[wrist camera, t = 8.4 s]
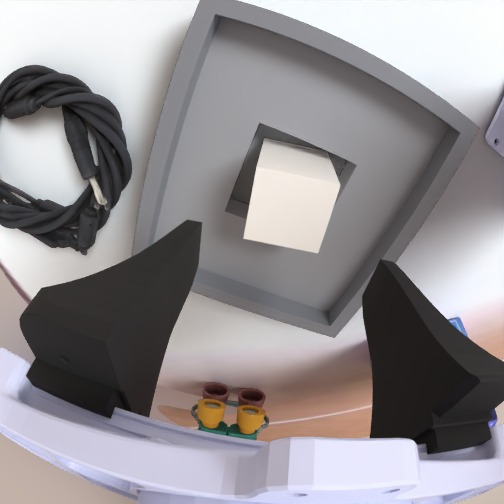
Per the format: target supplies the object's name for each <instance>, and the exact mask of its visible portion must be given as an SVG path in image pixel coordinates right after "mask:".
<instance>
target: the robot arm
mask: <svg viewBox="0 0 504 504" xmlns="http://www.w3.org/2000/svg"><path fill="white" fill-rule="evenodd" d="M495 139H496V140H497V141H496V143H495V144H494V141H495ZM485 140H486V142H487V143H488V144H489V145H490V146H492V147H493V148H494V149H495V150H496V151H497V152H498V153H499V154H500V155H501V156H502V157H504V97H503V99H502V101H501V104H500V106H499V108H498V110H497V112H496V114H495V116H494V118H493V120H492V122H491V124H490V126H489V128H488V130H487V132H486V135H485ZM201 232H202V222H198V221H193V220H186V221H184V222H183V223H181V224H180V225H179V226H177V227H176V228H175V229H173V230H172V231H171V232H169V233H168V234H166V235H165V236H164V237H162V238H161V239H159V240H158V241H157V242H155V243H154V244H152V245H151V246H149V247H147V248H146V249H144V250H143V251H141V252H140V253H138V254H136V255H134V256H133V257H131V258H129V259H127V260H125V261H123V262H121V263H119V264H117V265H115V266H112V267H110V268H107V269H105V270H103V271H100V272H98V273H95V274H93V275H90V276H87V277H84V278H81V279H77V280H74V281H71V282H67V283H63V284H58V285H54V286H49V287H44V288H41V290H40V291H39V292H38V293H37V295H36V296H35V297H34V299H33V300H32V301H31V303H30V304H29V305H28V307H27V308H26V309H25V311H24V312H23V313H22V315H21V317H20V328H21V330H22V333H23V335H24V337H25V339H26V341H27V343H28V344H29V346H30V348H31V350H32V352H33V353H34V355H35V357H36V359H35V360H34V362H33V364H32V365H31V364H30V363H29V362H27V360H25V359H24V358H22V357H20V356H18V355H16V354H14V353H12V352H10V351H9V350H7V349H5V348H0V432H1V433H2V434H3V435H4V436H6V437H7V438H9V439H11V440H12V441H14V442H15V443H17V444H19V445H20V446H22V447H23V448H25V449H27V450H29V451H30V452H32V453H34V454H35V455H37V456H39V457H41V458H42V459H44V460H46V461H48V462H50V463H52V464H53V465H56V466H58V467H59V468H61V469H63V470H65V471H67V472H69V473H71V474H73V475H75V476H77V477H80V478H82V479H84V480H86V481H88V482H91V483H93V484H95V485H97V486H100V487H102V488H105V489H107V490H110V491H112V492H115V493H117V494H120V495H123V496H125V497H128V498H131V499H134V500H137V504H452V503H456V502H459V501H462V500H465V499H468V498H471V497H474V496H477V495H480V494H482V493H484V492H486V491H489V490H490V489H493V488H495V487H497V486H499V485H501V484H502V483H504V424H499V425H496V426H493V427H491V428H489V424H488V422H490V421H491V420H492V415H491V411H492V410H493V409H495V408H496V407H497V406H498V405H499V404H501V403H502V402H503V401H504V362H503V361H501V360H500V359H498V358H496V357H494V356H493V355H491V354H490V353H488V352H487V351H485V350H484V349H482V348H481V347H479V346H478V345H477V344H475V343H474V342H473V341H471V340H470V339H469V338H468V337H467V336H465V335H464V334H463V333H462V332H460V331H459V330H458V329H457V328H456V327H455V326H454V325H453V324H451V323H450V322H449V321H448V320H447V319H446V318H445V317H444V316H443V315H442V314H441V313H440V312H439V311H438V310H437V309H436V308H435V307H434V306H433V305H432V303H431V302H430V301H429V300H428V299H427V298H426V297H425V296H424V295H423V294H422V292H421V291H420V290H419V289H418V288H417V287H416V286H415V284H414V283H413V282H412V281H411V280H410V279H409V278H408V276H407V275H406V274H405V273H404V272H403V271H402V270H401V269H400V268H399V267H398V266H397V265H396V264H395V263H394V262H392V261H387V260H383V259H380V261H379V263H378V265H377V267H376V269H375V271H374V273H373V275H372V277H371V279H370V281H369V283H368V285H367V287H366V289H365V291H364V293H363V295H362V307H363V319H364V325H365V330H366V335H367V341H368V346H369V352H370V358H371V365H372V379H373V405H372V421H371V432H370V438H327V437H288V438H283V439H277V440H273V441H271V442H264V441H257V440H249V439H243V438H237V437H231V436H225V435H220V434H214V433H209V432H204V431H200V430H195V429H191V428H186V427H182V426H178V425H174V424H170V423H166V422H163V421H159V420H155V419H152V418H149V415H150V410H151V406H152V401H153V397H154V393H155V389H156V385H157V381H158V377H159V373H160V369H161V366H162V362H163V358H164V355H165V352H166V348H167V345H168V342H169V338H170V335H171V333H172V330H173V328H174V325H175V323H176V321H177V319H178V316H179V314H180V312H181V310H182V307H183V305H184V303H185V301H186V298H187V296H188V294H189V292H190V289H191V287H192V285H193V281H194V278H195V275H196V272H197V268H198V265H199V255H200V243H201Z"/></svg>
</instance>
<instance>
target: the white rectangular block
mask: <svg viewBox="0 0 504 504" xmlns="http://www.w3.org/2000/svg"><path fill="white" fill-rule="evenodd" d="M339 188H340V183H339V180H338V177H337V175H336V172H335V170H334V167H333V165H332V162H331V160H330V157H329V155H328V152H326V151H322V150H317V149H313V148H309V147H305V146H300V145H296V144H291V143H286V142H282V141H277V140H272V139H267V138H264V141H263V145H262V149H261V152H260V156H259V159H258V163H257V167H256V172H255V177H254V183H253V188H252V194H251V199H250V204H249V210H248V215H247V221H246V226H245V232H244V237H243V239H248V240H253V241H258V242H263V243H268V244H273V245H278V246H283V247H288V248H293V249H298V250H303V251H308V252H313V253H318V252H319V249H320V246H321V243H322V240H323V237H324V235H325V232H326V229H327V226H328V223H329V220H330V217H331V213H332V210H333V207H334V204H335V201H336V198H337V195H338V192H339Z"/></svg>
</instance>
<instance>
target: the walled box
mask: <svg viewBox="0 0 504 504" xmlns="http://www.w3.org/2000/svg"><path fill="white" fill-rule="evenodd" d="M259 123H262V124H264V125H267V126H270V127H272V128H275V129H277V130H280V131H282V132H285V133H287V134H289V135H292V136H294V137H297V138H299V139H301V140H304V141H306V142H308V143H311V144H313V145H315V146H317V147H320V148H322V149H324V150H326V151H328V152H331V153H333V154H335V155H337V156H339V157H341V158H343V159H345V160H347V163H346V165H345V167H344V169H343V171H342V172H341V174H340V176H339V178H338V180H339V183H340V188H339V192H338V195H337V198H336V201H335V204H334V207H333V210H332V213H331V217H330V220H329V223H328V226H327V229H326V232H325V235H324V237H323V240H322V243H321V246H320V249H319V252H318V253H313V252H308V251H303V250H298V249H293V248H288V247H283V246H278V245H273V244H268V243H263V242H258V241H253V240H248V239H243V237H244V232H245V226H246V221H247V215H248V210H249V205H248V204H245V203H243V202H240V201H237V200H235V199H232V198H230V196H231V194H232V191H233V188H234V186H235V183H236V181H237V178H238V175H239V173H240V170H241V168H242V165H243V163H244V160H245V158H246V155H247V153H248V150H249V147H250V145H251V142H252V140H253V137H254V135H255V133H256V130H257V128H258V125H259ZM478 130H479V127H478V126H477V125H475V124H474V123H473V122H472V121H471V120H469V119H468V118H467V117H466V116H464V115H463V114H462V113H461V112H459V111H458V110H457V109H455V108H454V107H453V106H452V105H450V104H449V103H448V102H446V101H445V100H443V99H442V98H441V97H439V96H438V95H437V94H435V93H434V92H432V91H431V90H429V89H428V88H426V87H425V86H423V85H422V84H420V83H419V82H417V81H416V80H414V79H413V78H411V77H410V76H408V75H406V74H405V73H403V72H402V71H400V70H398V69H397V68H395V67H393V66H392V65H390V64H388V63H386V62H385V61H383V60H381V59H379V58H378V57H376V56H374V55H372V54H370V53H368V52H367V51H365V50H363V49H361V48H359V47H357V46H355V45H353V44H351V43H349V42H347V41H345V40H343V39H340V38H338V37H336V36H334V35H332V34H330V33H327V32H325V31H323V30H320V29H318V28H316V27H313V26H311V25H308V24H306V23H303V22H301V21H298V20H296V19H293V18H290V17H288V16H285V15H282V14H279V13H276V12H273V11H270V10H267V9H264V8H261V7H258V6H254V5H251V4H248V3H244V2H240V1H237V0H200V1H199V4H198V6H197V9H196V11H195V14H194V16H193V19H192V21H191V24H190V26H189V29H188V32H187V34H186V37H185V40H184V43H183V46H182V48H181V51H180V54H179V57H178V60H177V63H176V66H175V69H174V72H173V75H172V78H171V82H170V85H169V88H168V91H167V95H166V98H165V101H164V105H163V108H162V112H161V116H160V119H159V123H158V127H157V131H156V135H155V138H154V142H153V147H152V151H151V155H150V159H149V164H148V168H147V173H146V177H145V182H144V187H143V192H142V197H141V202H140V207H139V213H138V218H137V224H136V230H135V236H134V243H133V249H132V256H131V257H133V256H134V255H136V254H138V253H140V252H141V251H143V250H144V249H146V248H147V247H149V246H151V245H152V244H154V243H155V242H157V241H158V240H159V239H161V238H162V237H164V236H165V235H166V234H168V233H169V232H171V231H172V230H173V229H175V228H176V227H177V226H179V225H180V224H181V223H183V222H184V221H186V220H193V221H198V222H202V232H201V243H200V255H199V265H198V268H197V272H196V275H195V278H194V281H193V285H192V287H191V289H190V291H193V292H195V293H198V294H201V295H204V296H207V297H209V298H212V299H215V300H218V301H221V302H224V303H227V304H229V305H232V306H235V307H238V308H241V309H244V310H247V311H250V312H253V313H256V314H259V315H262V316H265V317H268V318H271V319H274V320H278V321H281V322H284V323H287V324H290V325H293V326H297V327H300V328H303V329H306V330H310V331H313V332H316V333H320V334H323V335H326V336H330V337H333V338H335V337H336V335H337V334H338V333H339V332H340V331H341V330H342V328H343V327H344V326H345V325H346V324H347V323H348V321H349V320H350V319H351V318H352V317H353V316H354V314H355V313H356V312H357V311H358V309H359V308H360V307H361V306H362V295H363V293H364V291H365V289H366V287H367V285H368V283H369V281H370V279H371V277H372V275H373V273H374V271H375V269H376V267H377V265H378V263H379V261H380V259H383V260H387V261H392V262H394V263H395V262H396V261H397V259H398V258H399V257H400V255H401V254H402V253H403V251H404V250H405V248H406V247H407V246H408V244H409V243H410V241H411V240H412V238H413V237H414V236H415V234H416V233H417V231H418V230H419V228H420V227H421V225H422V224H423V222H424V221H425V219H426V218H427V216H428V215H429V213H430V212H431V210H432V209H433V207H434V206H435V204H436V203H437V201H438V199H439V198H440V196H441V195H442V193H443V191H444V190H445V188H446V187H447V185H448V183H449V182H450V180H451V178H452V177H453V175H454V173H455V172H456V170H457V168H458V166H459V165H460V163H461V161H462V159H463V158H464V156H465V154H466V152H467V150H468V149H469V147H470V145H471V143H472V141H473V139H474V137H475V136H476V134H477V132H478Z"/></svg>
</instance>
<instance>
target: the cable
mask: <svg viewBox="0 0 504 504" xmlns="http://www.w3.org/2000/svg"><path fill="white" fill-rule="evenodd" d="M41 105H43V106H45V107H47V108H54V107H58V106H61V105H62V111H63V116H64V121H65V122H64V127H65V132H66V136H67V140H68V142H69V144H70V146H71V149H72V152H73V155H74V159H75V161H76V163H77V166H78V168H79V171H80V173H81V175H82V177H83V179H88V180H89V181H90V184H89V185H88V187H87V188H86V189H85V191H84V192H83V193H82V195H81V196H80V197H79V198H78V200H77V201H76V202H75V203H74V204H73V205H70V206H66V207H64V206H62V205H60V204H57V203H55V202H53V201H50V200H45V201H43V200H41V199H38V200H36V199H34V198H33V197H31V196H29V195H28V194H26V193H24V192H23V191H21V190H19V189H17V188H15V187H13V186H11V185H9V184H7V183H5V182H3V181H2V180H0V225H2V226H4V227H6V228H11V229H14V228H18V229H20V230H21V231H23V232H26V233H29V234H30V235H32V236H33V237H35V238H37V239H38V240H40V241H41V242H43V243H44V244H46V245H48V246H50V247H51V248H56V247H60V248H66V247H71V248H73V249H75V250H76V251H80V252H81V253H82V254H83V255H87V249H89V248H90V247H91V246H92V245H93V244H94V243H95V238H96V233H97V231H98V230H99V229H101V228H102V227H103V226H104V225H105V223H106V221H107V220H108V217H109V214H110V210H111V209H112V208H113V207H114V206H115V205H116V203H117V202H118V200H119V197H120V194H121V191H122V190H123V189H124V188H125V187H126V185H127V184H128V182H129V180H130V177H131V172H132V164H131V159H130V155H129V153H128V150H127V145H126V139H125V135H124V132H123V130H122V122H121V118H120V114H119V112H118V110H117V109H116V107H115V106H114V105H113V104H112V103H111V102H110V101H109V100H108V99H106V98H105V97H103V96H100V95H97V94H94V93H92V91H91V90H90V88H89V87H88V86H87V85H86V84H85V83H83V82H82V81H81V80H79V79H78V78H76V77H74V76H71V75H67V74H61V73H58V72H57V71H55V70H53V69H50V68H47V67H44V66H40V65H30V66H25V67H22V68H20V69H17V70H16V71H14V72H13V73H11V74H10V75H9V76H7V77H6V78H5V79H4V80H3V82H2V83H1V84H0V116H1V115H2V114H4V116H5V117H7V118H8V119H14V118H18V117H22V116H25V115H31V114H33V113H35V112H36V111H37V110H38V109H39V108H40V107H41ZM82 117H83V118H84V119H85V120H86V121H87V123H88V124H89V126H90V128H91V130H92V132H93V133H94V135H95V137H96V141H97V149H98V159H99V166H96V165H95V164H94V160H93V155H92V151H91V147H90V143H89V140H88V132H87V129H86V127H85V124H84V122H83V119H82ZM11 192H14V193H16V194H18V195H20V196H22V197H24V198H25V199H27V200H28V201H30V202H32V203H26V202H24V201H22V200H21V199H19V198H17V197H16V196H15V195H13V194H12V193H11ZM3 199H4V200H5V201H6V202H7V203H8V204H6V203H4V202H3ZM74 235H77V239H76V238H75V237H74Z"/></svg>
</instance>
